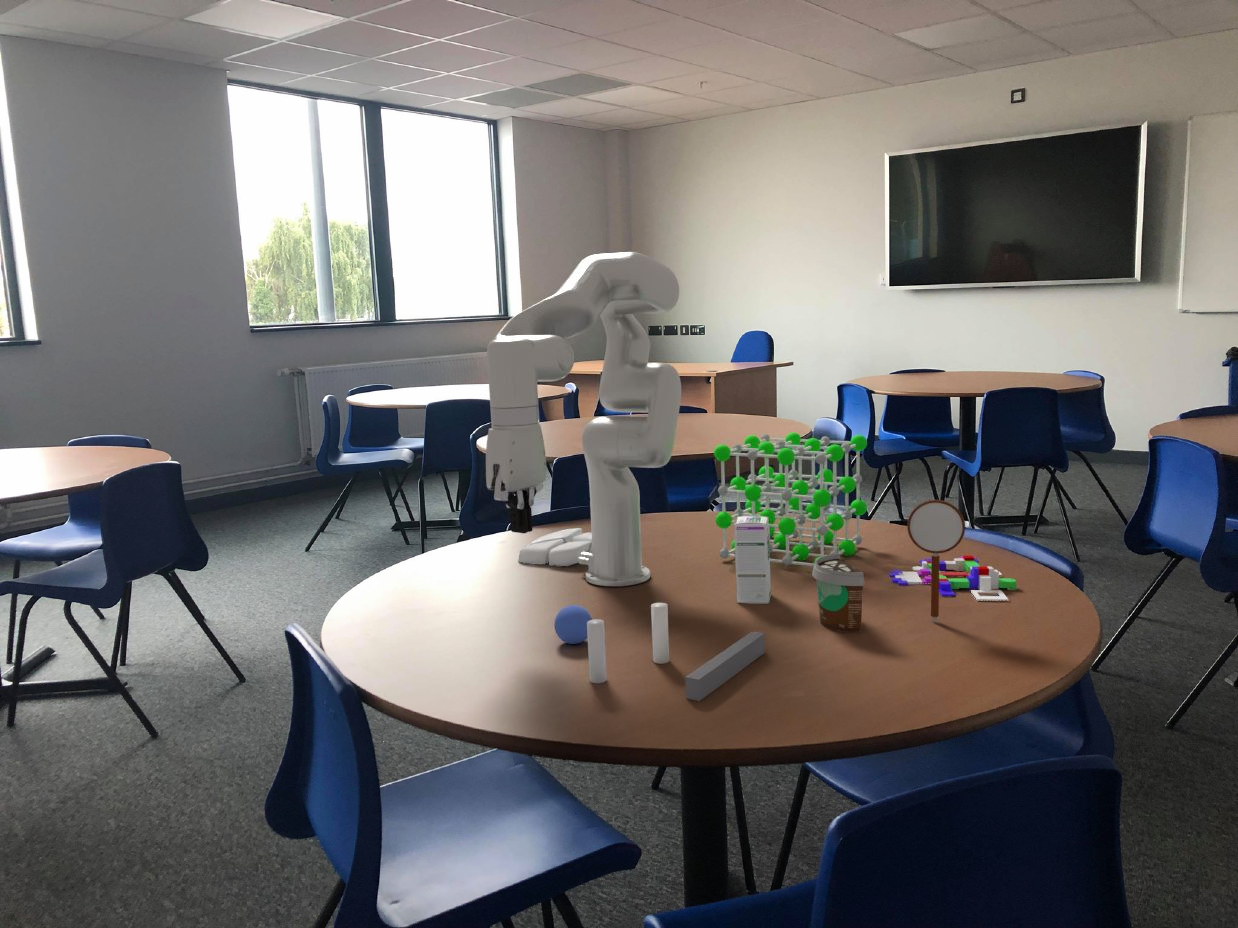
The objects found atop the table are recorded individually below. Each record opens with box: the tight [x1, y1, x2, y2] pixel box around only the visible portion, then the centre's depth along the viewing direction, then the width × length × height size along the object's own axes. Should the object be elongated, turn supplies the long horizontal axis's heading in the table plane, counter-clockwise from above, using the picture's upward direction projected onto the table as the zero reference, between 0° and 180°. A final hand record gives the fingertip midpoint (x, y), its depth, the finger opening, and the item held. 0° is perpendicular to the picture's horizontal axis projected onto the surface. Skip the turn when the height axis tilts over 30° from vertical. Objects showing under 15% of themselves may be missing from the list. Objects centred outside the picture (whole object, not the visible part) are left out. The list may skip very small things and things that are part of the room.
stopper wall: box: [685, 631, 766, 702], centre depth 131 cm, size 2×20×3 cm, turn 146°
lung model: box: [517, 527, 593, 567], centre depth 202 cm, size 7×17×25 cm
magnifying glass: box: [906, 499, 966, 623], centre depth 148 cm, size 9×2×20 cm, turn 71°
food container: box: [811, 554, 865, 633], centre depth 150 cm, size 12×6×10 cm, turn 5°
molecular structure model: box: [713, 431, 868, 567], centre depth 192 cm, size 24×25×24 cm
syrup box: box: [733, 516, 772, 605], centre depth 164 cm, size 6×6×14 cm
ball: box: [554, 604, 593, 645], centre depth 146 cm, size 6×6×6 cm
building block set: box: [888, 555, 1017, 602], centre depth 171 cm, size 25×20×4 cm
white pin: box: [650, 602, 670, 665], centre depth 137 cm, size 2×2×8 cm
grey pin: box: [587, 618, 608, 684], centre depth 130 cm, size 2×2×8 cm
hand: (521, 531), depth 149 cm, fingers closed
